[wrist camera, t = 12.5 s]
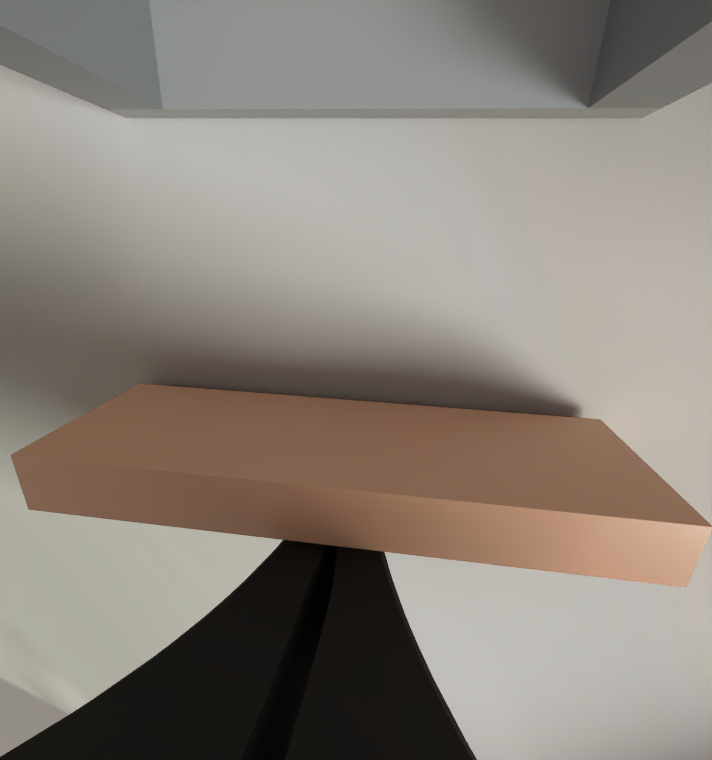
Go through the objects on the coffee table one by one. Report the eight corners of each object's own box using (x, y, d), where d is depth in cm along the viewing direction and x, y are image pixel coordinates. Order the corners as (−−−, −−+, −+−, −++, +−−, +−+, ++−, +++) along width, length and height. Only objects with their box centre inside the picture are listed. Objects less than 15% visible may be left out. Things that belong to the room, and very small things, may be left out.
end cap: (600, 419, 9) (713, 527, 6) (587, 463, 9) (685, 586, 6) (140, 383, 10) (10, 455, 7) (147, 423, 11) (28, 509, 7)
